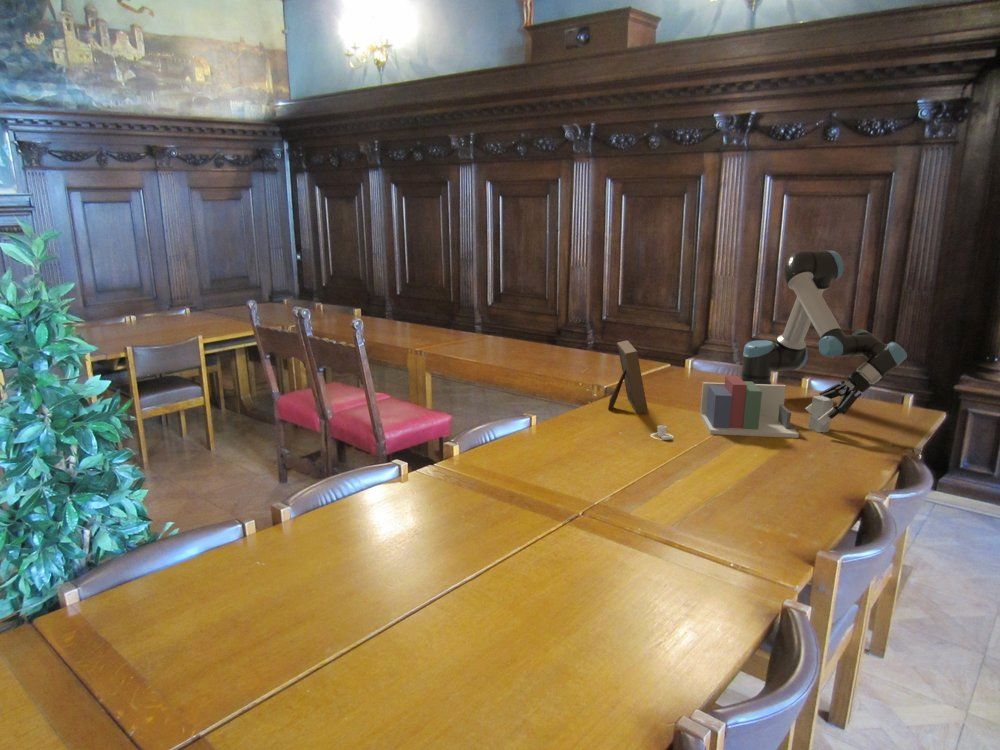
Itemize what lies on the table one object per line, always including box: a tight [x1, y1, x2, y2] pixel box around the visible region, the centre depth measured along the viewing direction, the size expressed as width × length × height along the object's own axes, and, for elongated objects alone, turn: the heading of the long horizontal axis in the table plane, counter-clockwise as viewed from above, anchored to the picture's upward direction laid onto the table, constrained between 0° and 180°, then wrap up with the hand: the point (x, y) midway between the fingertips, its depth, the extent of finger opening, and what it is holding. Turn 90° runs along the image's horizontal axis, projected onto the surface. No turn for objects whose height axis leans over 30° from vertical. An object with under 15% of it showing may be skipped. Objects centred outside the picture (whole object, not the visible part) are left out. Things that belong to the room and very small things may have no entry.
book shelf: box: [699, 375, 800, 439], centre depth 244 cm, size 22×30×18 cm
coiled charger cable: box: [649, 424, 674, 441], centre depth 234 cm, size 9×8×4 cm
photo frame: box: [607, 340, 649, 415], centre depth 268 cm, size 15×22×25 cm
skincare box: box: [807, 395, 835, 434], centre depth 241 cm, size 6×4×12 cm
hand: (813, 416), depth 241 cm, fingers open, 13 cm apart
